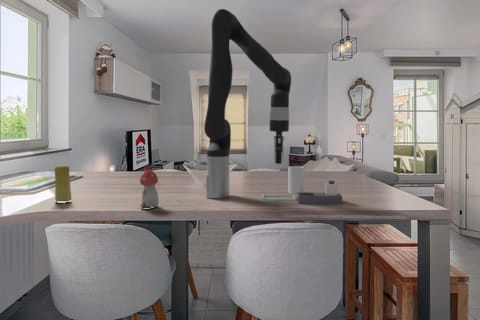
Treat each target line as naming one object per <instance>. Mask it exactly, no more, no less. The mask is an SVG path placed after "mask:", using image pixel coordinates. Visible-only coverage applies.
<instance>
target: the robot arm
mask: <svg viewBox="0 0 480 320" xmlns="http://www.w3.org/2000/svg"><path fill="white" fill-rule="evenodd" d="M230 41H232V42H233V43H235V44H236V46H238V47H239V48H240V49H241V50H242V51H243V53H244V54H245V55H246V57H247V58H248V59H249V60H250V61H251V62H252V63H253V64H254V66H256V67H257V68H258V69H259V70H260V71H261V72H262V73H263V74H264V76H265V77H266V78H267V79H268V80H269V81H270V82H271V83H272V84H273V92H272V93H271V95H270V96H271V97H270V110H269V132H274V133H275V135H273V141H274V142H273V143H274V144H273V148H274V147H275V148H276V150H275V153H276V164H281V154H282V148H283V147H284V141H285V136H284V135H283V133H284V132H285V133H287V132H289V130H290V110H289V109H290V92H291V91H290V90H291V85H292V75H291V73H290V70H288V69H287V68H285V67H283V66H282V64H280V63H279V62H278V61H277V60H276V59H275V58H274V57H273V55H272V54H271V53H270V52H269V51H268V50H267V49H266V48H264V46H263V45H262V44H260V42H258V41H257V40H255V38H254V37H253V36H251V34H250V33H249V32H248V31H247V30H246V28H245V27H244V26H243V25H242V24H241V22H240V20H239V19H238V17H237V16H236V15H235V14H234V13H232V12H230V11H229V10H227V9H225V8H221V9H218V10H216V11H215V12H214V14H213V15H212V17H211V52H210V53H211V54H210V63H209V64H210V68H209V78H208V97H207V98H208V99H207V109H206V113H205V114H206V116H205V121H204V126H203V127H204V134H205V135H206V137H207V138H208V139H209V144H208V147H207V149H206V169H207V171H206V173H207V174H206V175H205V176H206V177H205V179H206V180H205V181H206V185H205V186H206V188H205V189H206V198H207V199H226V198H229V197H230V194H231V193H230V151H231V141H232V140H231V137H232V134H231V133H232V131H231V125H230V122H229V121H228V120H227V118H226V116H225V115H226V106H227V105H226V104H227V101H228V98H229V95H230V93H231V88H232V84H233V83H232V82H233V73H234V72H233V63H232V61H233V60H232V56H231V52H230V51H231V50H230ZM277 148H281V150H277Z"/></svg>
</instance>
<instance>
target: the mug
mask: <svg viewBox="0 0 480 320" xmlns="http://www.w3.org/2000/svg"><path fill="white" fill-rule="evenodd" d="M287 169H288V172H287V173H288V174H287V175H288V176H287V177H288V178H287V179H288V180H287V182H288V183H287V184H288V188H287V189H288V190H287V191H288V192H287V193H289V194H293V195H295V194H296V195H297V192H301V193H304V186H305V185H304V181H305V179H304V178H305V177H304V176H305V167H304V166H297V165H296V166H295V165H294V166H292V165H291V166H290V165H289V166H288V168H287Z"/></svg>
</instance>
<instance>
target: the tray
mask: <svg viewBox="0 0 480 320" xmlns="http://www.w3.org/2000/svg"><path fill="white" fill-rule="evenodd" d="M261 196H262V197H261V202H263V203H264V202H266V203H267V202H268V203H270V202H272V203H277V202H279V201H297V197H296V196H295V194H262V195H261ZM278 197H293V198H278Z"/></svg>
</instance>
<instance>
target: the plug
mask: <svg viewBox="0 0 480 320" xmlns="http://www.w3.org/2000/svg"><path fill="white" fill-rule="evenodd" d="M275 150H276V148H275V147H274V146H273V155H272V158H273V159H272V161H273V162H272V166H274V167H277V166H278V167H279V166H281V167H284V166H285V163H284V161H285V147H284V146H283V148H282V154H281V164H276V153H275ZM277 150H281V148H277Z"/></svg>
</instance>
